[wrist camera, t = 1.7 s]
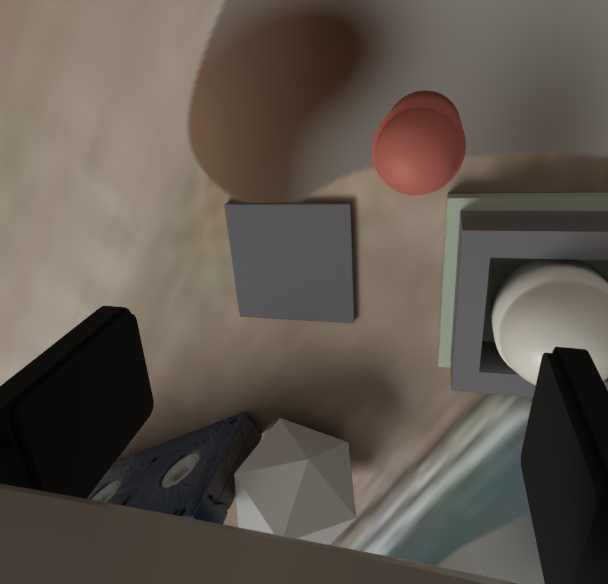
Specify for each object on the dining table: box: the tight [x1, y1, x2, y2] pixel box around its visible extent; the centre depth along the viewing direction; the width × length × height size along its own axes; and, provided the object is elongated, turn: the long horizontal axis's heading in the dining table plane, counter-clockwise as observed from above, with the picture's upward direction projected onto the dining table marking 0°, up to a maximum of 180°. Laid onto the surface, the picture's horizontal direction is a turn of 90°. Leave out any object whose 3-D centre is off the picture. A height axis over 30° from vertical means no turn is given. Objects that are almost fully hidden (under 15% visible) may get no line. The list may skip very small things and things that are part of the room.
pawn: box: [372, 91, 466, 195], centre depth 23 cm, size 4×4×8 cm
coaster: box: [225, 203, 355, 323], centre depth 32 cm, size 8×8×1 cm
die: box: [234, 418, 356, 545], centre depth 35 cm, size 8×9×10 cm
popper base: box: [438, 192, 608, 397], centre depth 27 cm, size 11×11×4 cm
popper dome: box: [490, 259, 608, 385], centre depth 24 cm, size 6×6×6 cm
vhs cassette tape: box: [87, 412, 262, 524], centre depth 39 cm, size 18×3×10 cm, turn 121°
